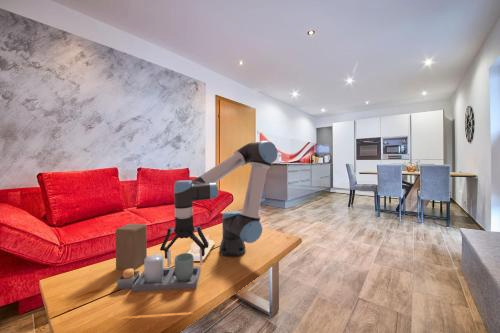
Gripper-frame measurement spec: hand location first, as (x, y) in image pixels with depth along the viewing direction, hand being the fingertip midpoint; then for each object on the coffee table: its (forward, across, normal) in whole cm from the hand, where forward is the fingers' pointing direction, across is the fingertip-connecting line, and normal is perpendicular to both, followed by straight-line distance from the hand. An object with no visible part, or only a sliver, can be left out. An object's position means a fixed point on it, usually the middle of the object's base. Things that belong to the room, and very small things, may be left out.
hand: (185, 264), depth 92 cm
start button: (+4, +23, +2) cm, 23 cm away
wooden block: (+7, +29, -15) cm, 33 cm away
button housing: (+7, +23, +2) cm, 24 cm away
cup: (+7, +1, 0) cm, 7 cm away
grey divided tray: (+7, +7, 0) cm, 10 cm away
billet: (+6, +13, 0) cm, 15 cm away
